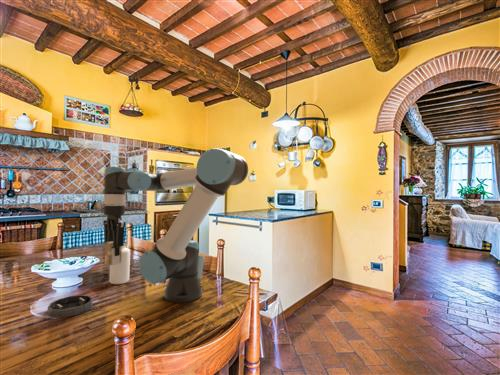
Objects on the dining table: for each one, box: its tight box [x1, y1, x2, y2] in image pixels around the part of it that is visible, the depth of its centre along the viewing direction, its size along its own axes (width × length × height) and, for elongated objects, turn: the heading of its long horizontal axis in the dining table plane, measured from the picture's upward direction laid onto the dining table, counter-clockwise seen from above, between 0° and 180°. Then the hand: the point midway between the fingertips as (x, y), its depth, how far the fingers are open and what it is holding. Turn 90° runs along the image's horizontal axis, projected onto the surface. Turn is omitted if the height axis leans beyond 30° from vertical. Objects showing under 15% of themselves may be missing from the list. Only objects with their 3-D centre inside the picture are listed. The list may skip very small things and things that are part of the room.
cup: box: [198, 255, 205, 280], centre depth 129 cm, size 8×8×10 cm
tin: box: [47, 294, 94, 318], centre depth 93 cm, size 13×13×2 cm
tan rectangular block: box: [104, 241, 122, 267], centre depth 104 cm, size 3×5×9 cm, turn 145°
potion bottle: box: [109, 242, 131, 285], centre depth 122 cm, size 8×8×18 cm
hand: (113, 262), depth 104 cm, fingers closed on tan rectangular block, 3 cm apart
